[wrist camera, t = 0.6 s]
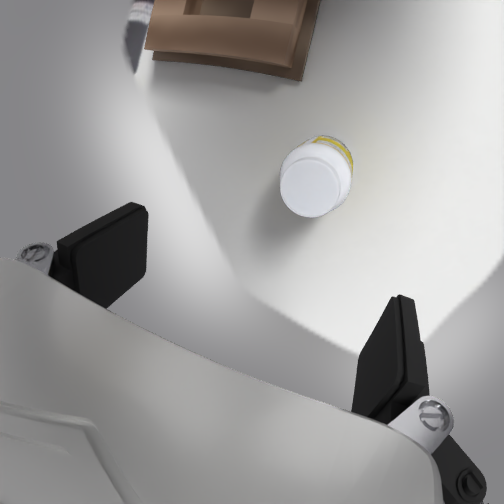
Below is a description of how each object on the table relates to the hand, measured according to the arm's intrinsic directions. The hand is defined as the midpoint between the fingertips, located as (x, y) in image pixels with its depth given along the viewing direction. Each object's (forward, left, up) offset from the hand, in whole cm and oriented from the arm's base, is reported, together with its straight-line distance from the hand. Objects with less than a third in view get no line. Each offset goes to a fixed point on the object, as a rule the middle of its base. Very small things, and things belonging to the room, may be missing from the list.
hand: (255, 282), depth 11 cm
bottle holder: (-15, -12, -21) cm, 29 cm away
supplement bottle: (0, 0, -21) cm, 21 cm away
